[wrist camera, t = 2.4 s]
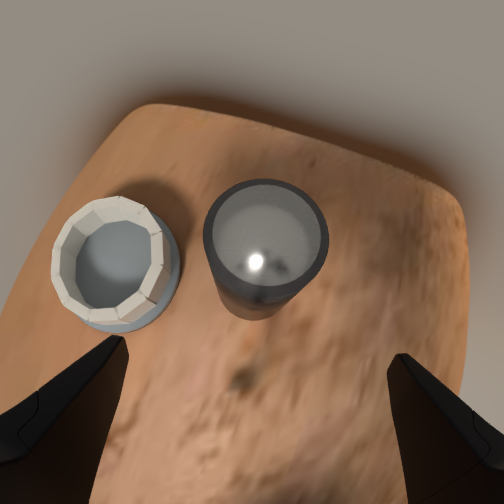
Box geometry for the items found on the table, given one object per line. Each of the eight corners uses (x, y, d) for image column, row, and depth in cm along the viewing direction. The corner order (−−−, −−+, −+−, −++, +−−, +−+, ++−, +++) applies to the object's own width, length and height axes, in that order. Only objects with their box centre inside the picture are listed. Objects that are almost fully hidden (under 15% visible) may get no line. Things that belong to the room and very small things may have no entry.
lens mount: (202, 235, 23) (197, 217, 19) (147, 356, 20) (131, 357, 16) (102, 194, 23) (87, 175, 20) (49, 297, 20) (27, 289, 17)
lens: (299, 266, 22) (343, 203, 13) (274, 331, 21) (306, 316, 11) (234, 240, 23) (233, 161, 13) (206, 303, 21) (180, 265, 11)
